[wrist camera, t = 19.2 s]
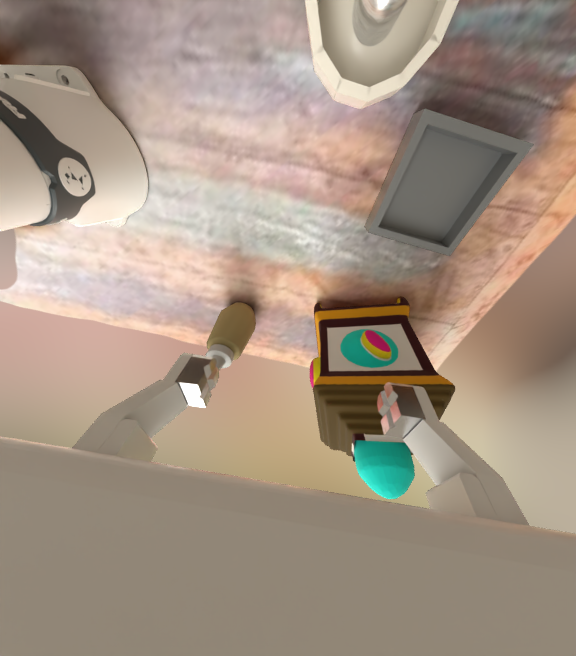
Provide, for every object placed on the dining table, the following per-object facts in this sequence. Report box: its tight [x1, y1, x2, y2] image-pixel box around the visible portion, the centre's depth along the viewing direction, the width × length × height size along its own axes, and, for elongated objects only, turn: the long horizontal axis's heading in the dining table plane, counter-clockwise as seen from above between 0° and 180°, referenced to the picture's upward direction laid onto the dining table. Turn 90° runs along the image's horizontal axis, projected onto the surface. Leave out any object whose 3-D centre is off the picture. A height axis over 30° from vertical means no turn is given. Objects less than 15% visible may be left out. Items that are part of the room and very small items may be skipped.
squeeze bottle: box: [206, 302, 256, 370], centre depth 41 cm, size 8×8×18 cm
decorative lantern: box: [310, 297, 455, 499], centre depth 35 cm, size 20×20×30 cm
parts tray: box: [364, 109, 534, 256], centre depth 28 cm, size 13×13×4 cm
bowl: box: [305, 0, 459, 109], centre depth 20 cm, size 13×13×4 cm
